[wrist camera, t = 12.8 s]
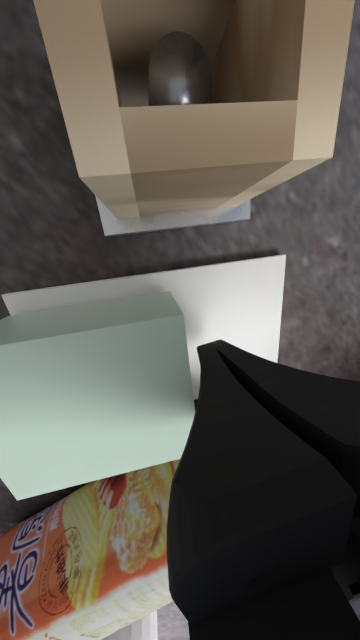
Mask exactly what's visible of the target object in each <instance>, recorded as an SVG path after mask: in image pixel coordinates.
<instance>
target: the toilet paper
mask: <svg viewBox="0 0 360 640" xmlns="http://www.w3.org/2000/svg"><path fill="white" fill-rule="evenodd" d="M100 640H158V636H157V610H156V611H154V612H152V613H150V614H148V615H147V616H145V617H143V618H141V619H139V620H137V621H135V622H133V623H131V624H129V625H128V626H126V627H124V628H122V629H120V630H118V631H116V632H115V633H113V634H111V635H109V636H107V637H105V638H102V639H100Z"/></svg>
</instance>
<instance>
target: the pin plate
mask: <svg viewBox="0 0 360 640" xmlns="http://www.w3.org/2000/svg"><path fill="white" fill-rule="evenodd" d="M115 78H116V84H117V90H118V95H119V101H120V107H142V106H166V105H190V104H212V99H211V86H212V75H211V68H210V64H209V60H208V58H207V55H206V53H205V51H204V49H203V48H202V46H201V45H200V44H199V42H198V41H197V40H196V39H195V38H193V37H192V36H190V35H189V34H187V33H184V32H178V31H176V32H170V33H168V34H166V35H164V36H163V37H162V38H161V39H160V40H159V41H158V42H157V43H156V45H155V47H154V49H153V51H152V54H151V57H150V62H149V73H115ZM95 197H96V201H97V205H98V209H99V213H100V217H101V222H102V226H103V230H104V234H105V236H107V237H115V236H124V235H132V234H141V233H150V232H158V231H167V230H175V229H184V228H192V227H201V226H210V225H218V224H227V223H235V222H242V221H245V220H248V219H250V199H249V200H247V201H245V202H244V203H242V204H240V205H238V206H233V207H224V208H215V209H205V210H196V211H186V212H177V213H168V214H158V215H149V216H139V217H130V218H121V219H117V218H116V217H115V216H114V215H113V214H112V213H111V212H110V211H109V210H108V208H107V207H106V206H105V205H104V204H103V203H102V202H101V201H100V200H99V199H98V197H97V196H96V195H95Z"/></svg>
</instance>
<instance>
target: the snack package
mask: <svg viewBox="0 0 360 640" xmlns="http://www.w3.org/2000/svg"><path fill="white" fill-rule="evenodd" d="M179 461H180V459H177V460H174V461H170V462H166V463H162V464H158V465H154V466H150V467H146V468H142V469H139V470H135V471H131V472H127V473H123V474H119V475H115V476H111V477H107V478H103V479H100V480H96V481H92V482H89V483H88V484H86V485H85V486H83V487H81V488H79V489H78V490H76V491H74V492H73V493H71V494H70V495H68V496H66V497H64V498H63V499H61V500H59V501H58V502H56V503H54V504H53V505H51V506H50V507H48V508H46V509H44V510H43V511H41V512H39V513H38V514H36V515H34V516H32V517H30V518H29V519H27V520H25V521H23V522H21V523H19V524H17V525H15V526H14V527H12V528H11V529H9V530H8V531H7V532H5V533H4V534H3V535H2V536H1V537H0V640H100V639H102V638H105V637H107V636H109V635H111V634H113V633H115V632H116V631H118V630H120V629H122V628H124V627H126V626H128V625H129V624H131V623H133V622H135V621H137V620H139V619H141V618H143V617H145V616H147V615H148V614H150V613H152V612H154V611H156V610H157V609H159V608H161V607H163V606H165V605H167V604H168V603H170V602H172V601H173V599H172V598H171V594H170V591H169V580H168V565H167V518H168V508H169V499H170V491H171V484H172V479H173V477H174V474H175V471H176V469H177V466H178V464H179Z"/></svg>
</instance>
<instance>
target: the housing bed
mask: <svg viewBox="0 0 360 640" xmlns="http://www.w3.org/2000/svg"><path fill="white" fill-rule="evenodd" d="M285 262H286V255H274V256H267V257H260V258H253V259H246V260H239V261H232V262H224V263H217V264H210V265H203V266H196V267H189V268H182V269H175V270H168V271H160V272H153V273H146V274H139V275H132V276H125V277H118V278H111V279H104V280H97V281H89V282H82V283H75V284H68V285H61V286H54V287H47V288H40V289H33V290H26V291H18V292H11V293H6V294H3V295H1V296H2V298H3V300H4V302H5V304H6V306H7V309H8V311H9V313H10V315H11V316H12V315H19V314H25V313H32V312H38V311H45V310H51V309H58V308H64V307H71V306H77V305H84V304H90V303H97V302H103V301H110V300H116V299H123V298H129V297H136V296H142V295H149V294H155V293H162V292H168V291H170V292H171V294H172V296H173V297H174V299H175V301H176V302H177V304H178V306H179V308H180V309H181V311H182V313H183V314H184V322H185V331H186V339H187V347H188V356H189V364H190V373H191V381H192V389H193V398H194V400H196V399H198V395H199V388H200V373H201V369H200V361H199V357H198V353H197V349H196V348H197V347H198V346H200V345H203V344H206V343H210V342H213V341H216V340H220V339H221V340H223V341H225V342H228V343H230V344H232V345H234V346H236V347H238V348H240V349H242V350H245V351H247V352H249V353H251V354H254V355H256V356H259V357H261V358H264V359H267V360H269V361H272V362H275V363H277V360H278V348H279V336H280V324H281V311H282V299H283V287H284V274H285Z"/></svg>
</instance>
